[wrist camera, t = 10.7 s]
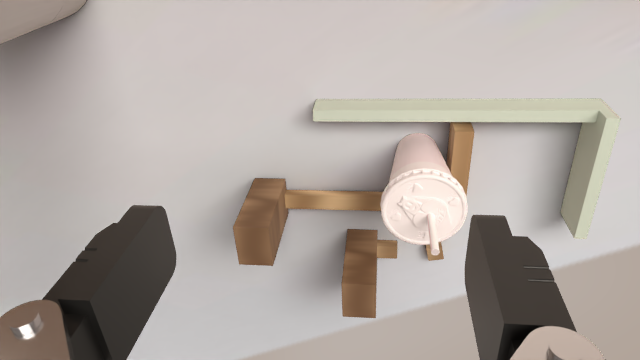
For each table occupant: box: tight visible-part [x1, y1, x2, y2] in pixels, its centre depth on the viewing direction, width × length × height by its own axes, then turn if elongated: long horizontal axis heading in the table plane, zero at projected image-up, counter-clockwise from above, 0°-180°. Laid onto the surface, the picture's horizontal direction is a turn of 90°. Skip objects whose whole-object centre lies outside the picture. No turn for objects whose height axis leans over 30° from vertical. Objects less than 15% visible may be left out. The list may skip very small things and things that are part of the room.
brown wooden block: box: [342, 229, 444, 318], centre depth 47 cm, size 10×4×8 cm, turn 93°
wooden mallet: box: [233, 122, 474, 266], centre depth 42 cm, size 20×10×8 cm, turn 93°
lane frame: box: [313, 99, 621, 239], centre depth 43 cm, size 24×11×4 cm, turn 93°
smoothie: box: [380, 133, 468, 255], centre depth 39 cm, size 6×6×14 cm
